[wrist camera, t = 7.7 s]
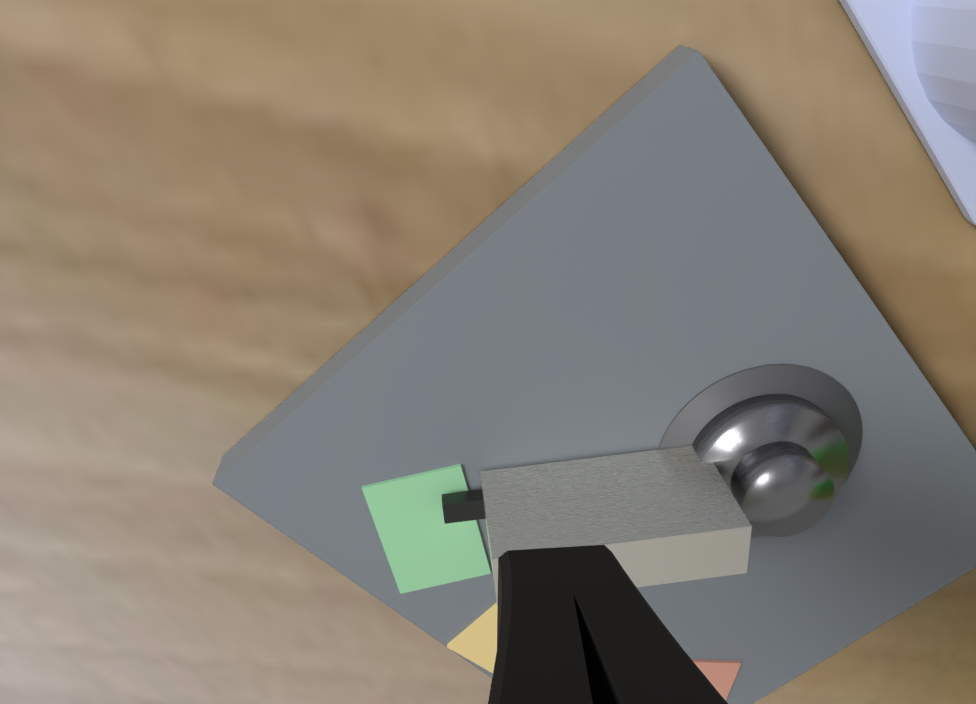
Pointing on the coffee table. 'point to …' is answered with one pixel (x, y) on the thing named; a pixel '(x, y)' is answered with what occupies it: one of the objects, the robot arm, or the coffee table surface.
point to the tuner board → (627, 393)
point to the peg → (673, 495)
